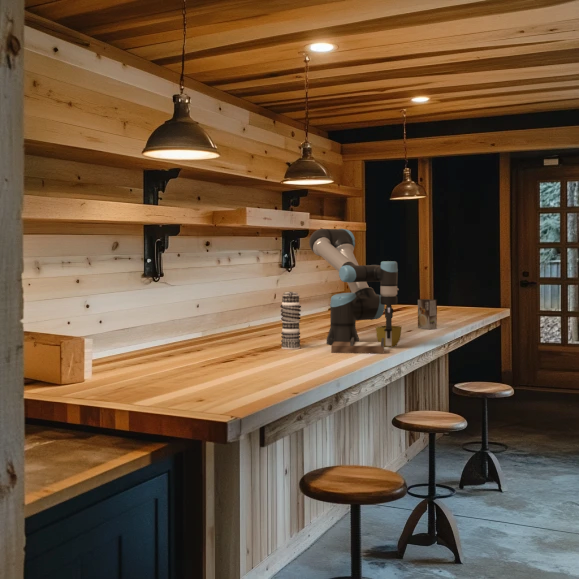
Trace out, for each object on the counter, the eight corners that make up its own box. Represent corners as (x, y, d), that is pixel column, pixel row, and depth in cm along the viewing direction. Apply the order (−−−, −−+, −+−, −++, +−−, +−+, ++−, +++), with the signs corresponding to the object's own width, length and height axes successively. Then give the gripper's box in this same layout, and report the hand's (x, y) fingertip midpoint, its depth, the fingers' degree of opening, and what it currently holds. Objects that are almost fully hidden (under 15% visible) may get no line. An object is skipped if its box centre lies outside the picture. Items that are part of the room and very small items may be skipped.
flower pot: (392, 348, 327) (392, 328, 327) (375, 346, 332) (375, 326, 332) (401, 346, 334) (402, 326, 334) (384, 344, 339) (385, 325, 339)
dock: (331, 352, 314) (331, 341, 313) (333, 348, 328) (333, 337, 327) (383, 353, 311) (383, 341, 310) (383, 349, 325) (384, 337, 324)
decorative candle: (288, 350, 322) (288, 292, 320) (276, 347, 329) (276, 291, 328) (305, 348, 327) (305, 292, 326) (292, 346, 335) (292, 291, 333)
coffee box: (437, 328, 406) (437, 299, 405) (429, 329, 402) (429, 300, 401) (424, 327, 413) (425, 298, 412) (417, 328, 409) (417, 299, 408)
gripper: (397, 297, 320) (397, 347, 321) (397, 294, 343) (396, 340, 344) (380, 297, 321) (379, 347, 322) (380, 293, 344) (380, 340, 345)
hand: (388, 344), depth 333 cm, fingers closed on flower pot, 11 cm apart
